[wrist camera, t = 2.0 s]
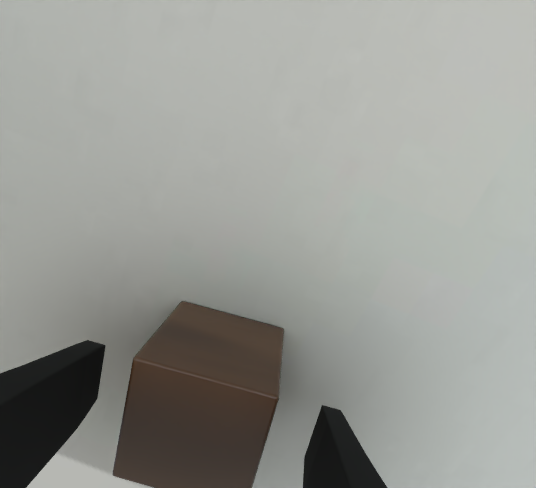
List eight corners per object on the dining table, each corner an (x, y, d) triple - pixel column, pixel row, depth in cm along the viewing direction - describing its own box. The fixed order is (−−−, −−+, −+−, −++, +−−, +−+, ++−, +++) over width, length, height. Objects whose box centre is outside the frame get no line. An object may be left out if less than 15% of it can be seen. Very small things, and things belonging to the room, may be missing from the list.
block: (259, 416, 14) (244, 514, 10) (162, 389, 14) (111, 476, 10) (284, 327, 13) (279, 398, 9) (181, 299, 13) (131, 357, 9)
